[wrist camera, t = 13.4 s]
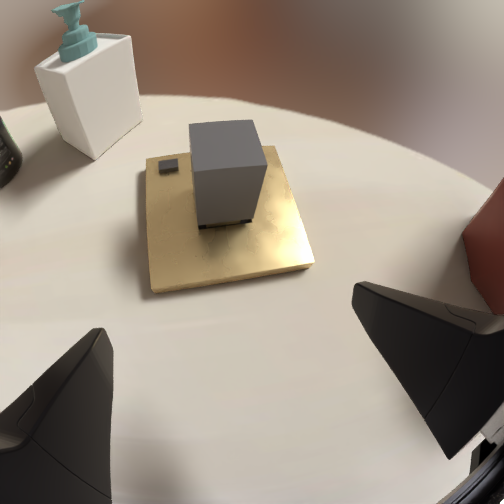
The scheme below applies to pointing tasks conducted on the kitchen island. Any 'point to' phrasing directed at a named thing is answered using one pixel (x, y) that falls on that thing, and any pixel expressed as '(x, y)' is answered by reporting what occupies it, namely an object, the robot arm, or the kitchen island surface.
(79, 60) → the soap bottle
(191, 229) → the socket
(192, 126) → the plug
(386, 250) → the kitchen island surface
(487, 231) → the bucket
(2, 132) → the supplement bottle
